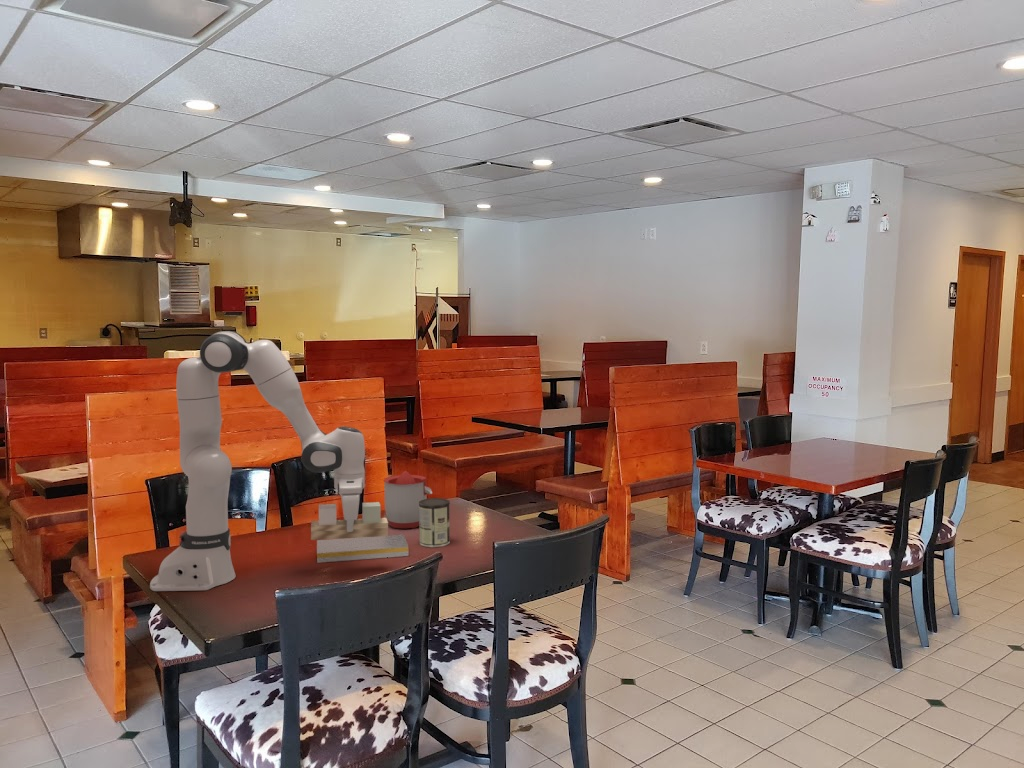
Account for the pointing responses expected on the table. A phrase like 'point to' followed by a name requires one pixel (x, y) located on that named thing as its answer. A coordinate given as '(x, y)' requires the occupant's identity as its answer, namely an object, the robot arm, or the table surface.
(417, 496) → the citrus juicer
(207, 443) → the robot arm
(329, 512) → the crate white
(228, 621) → the table surface
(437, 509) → the coffee can
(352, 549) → the dock
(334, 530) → the checkered beige brown block
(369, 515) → the pale green cube
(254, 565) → the table surface
